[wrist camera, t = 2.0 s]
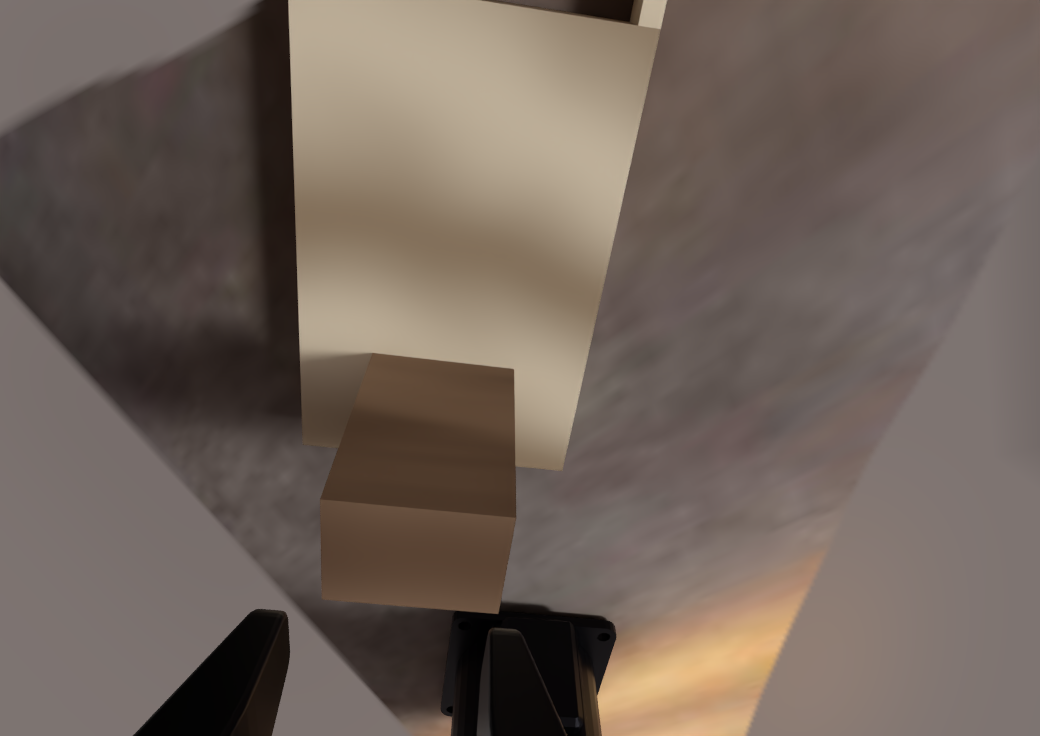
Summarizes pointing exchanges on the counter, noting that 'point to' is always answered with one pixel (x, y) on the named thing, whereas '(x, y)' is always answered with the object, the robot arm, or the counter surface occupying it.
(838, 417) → the counter surface
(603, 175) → the wooden stand
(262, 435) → the counter surface
